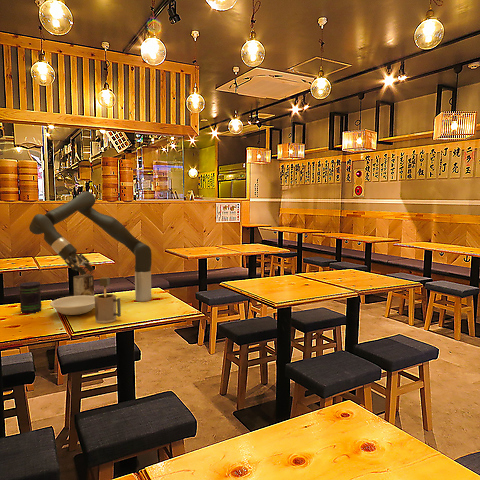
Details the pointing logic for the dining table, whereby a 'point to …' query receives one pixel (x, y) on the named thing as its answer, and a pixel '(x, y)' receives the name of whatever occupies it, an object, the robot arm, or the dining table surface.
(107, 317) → the brown mug
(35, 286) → the storage jar
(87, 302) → the soup bowl
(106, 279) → the plunger
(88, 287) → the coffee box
